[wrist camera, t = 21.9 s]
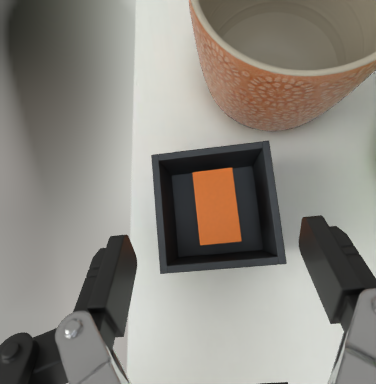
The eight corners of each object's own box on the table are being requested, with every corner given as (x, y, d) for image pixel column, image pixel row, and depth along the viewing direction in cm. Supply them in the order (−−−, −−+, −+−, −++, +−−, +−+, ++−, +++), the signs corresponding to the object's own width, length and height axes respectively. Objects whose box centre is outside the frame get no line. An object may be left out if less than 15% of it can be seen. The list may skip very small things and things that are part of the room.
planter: (173, 94, 43) (138, -11, 24) (256, -2, 43) (286, -177, 25) (279, 175, 39) (335, 127, 20) (368, 69, 40) (501, -72, 21)
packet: (204, 240, 38) (200, 245, 28) (198, 186, 39) (192, 172, 30) (235, 237, 38) (241, 241, 28) (228, 182, 39) (232, 167, 29)
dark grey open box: (174, 262, 39) (160, 273, 29) (167, 172, 41) (151, 154, 31) (269, 254, 38) (286, 263, 28) (256, 161, 40) (269, 140, 30)
